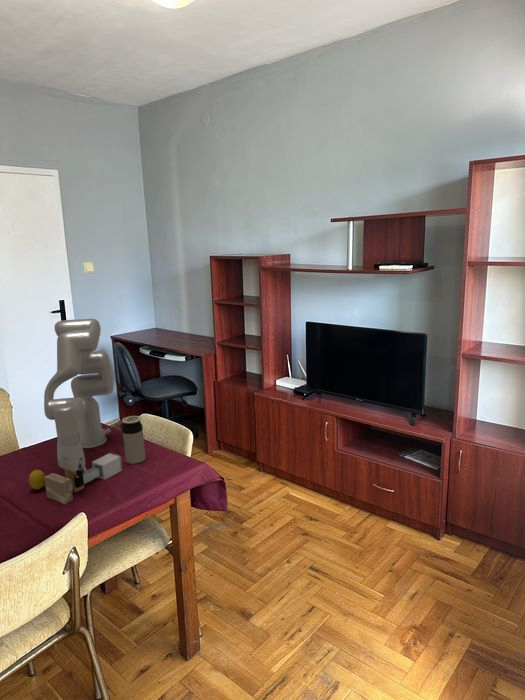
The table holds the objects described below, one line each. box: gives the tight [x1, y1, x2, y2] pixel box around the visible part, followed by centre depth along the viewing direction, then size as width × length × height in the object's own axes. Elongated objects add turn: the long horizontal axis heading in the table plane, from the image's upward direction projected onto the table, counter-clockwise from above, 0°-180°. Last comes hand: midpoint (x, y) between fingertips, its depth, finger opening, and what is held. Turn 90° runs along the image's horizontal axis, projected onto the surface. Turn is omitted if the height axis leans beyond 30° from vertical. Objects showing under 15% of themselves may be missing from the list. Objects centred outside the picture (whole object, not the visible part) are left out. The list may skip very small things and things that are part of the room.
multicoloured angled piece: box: [64, 466, 102, 494], centre depth 184 cm, size 19×4×9 cm, turn 147°
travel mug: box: [121, 415, 146, 465], centre depth 203 cm, size 8×8×18 cm
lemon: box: [28, 469, 46, 490], centre depth 184 cm, size 6×6×8 cm
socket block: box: [44, 472, 74, 505], centre depth 176 cm, size 4×10×8 cm, turn 57°
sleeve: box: [91, 452, 124, 481], centre depth 194 cm, size 9×6×6 cm
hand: (75, 484), depth 182 cm, fingers closed on multicoloured angled piece, 4 cm apart
